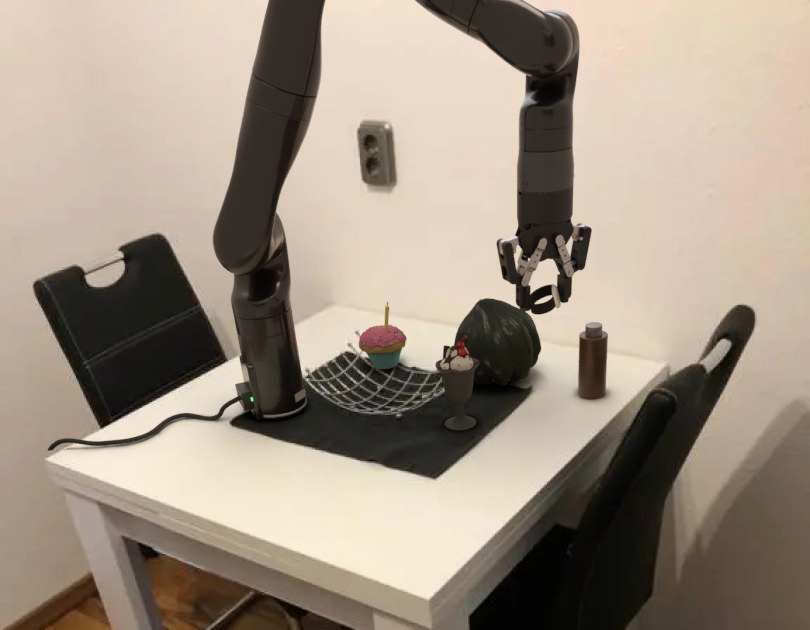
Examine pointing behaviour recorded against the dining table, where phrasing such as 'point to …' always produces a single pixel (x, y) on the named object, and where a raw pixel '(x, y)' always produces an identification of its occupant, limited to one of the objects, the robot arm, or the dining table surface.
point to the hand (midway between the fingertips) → (543, 305)
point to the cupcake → (383, 344)
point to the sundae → (458, 382)
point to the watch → (547, 305)
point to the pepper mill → (592, 361)
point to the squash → (499, 341)
